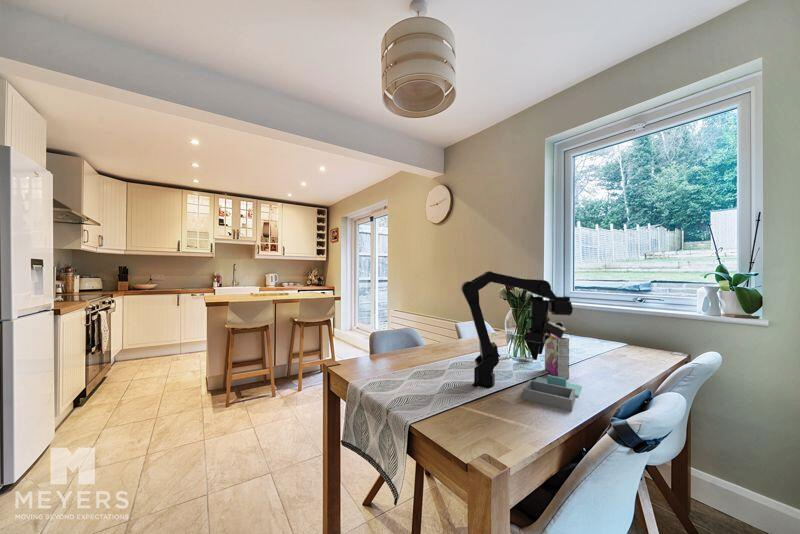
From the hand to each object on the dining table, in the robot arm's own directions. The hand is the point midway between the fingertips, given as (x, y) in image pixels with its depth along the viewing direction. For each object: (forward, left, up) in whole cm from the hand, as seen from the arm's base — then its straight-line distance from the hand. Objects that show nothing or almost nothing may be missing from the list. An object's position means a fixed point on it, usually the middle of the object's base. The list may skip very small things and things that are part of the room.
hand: (537, 356), depth 108 cm
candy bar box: (+3, +21, -12) cm, 24 cm away
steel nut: (+8, -8, -11) cm, 16 cm away
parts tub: (+5, -9, -12) cm, 16 cm away
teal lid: (+6, +4, -11) cm, 13 cm away
